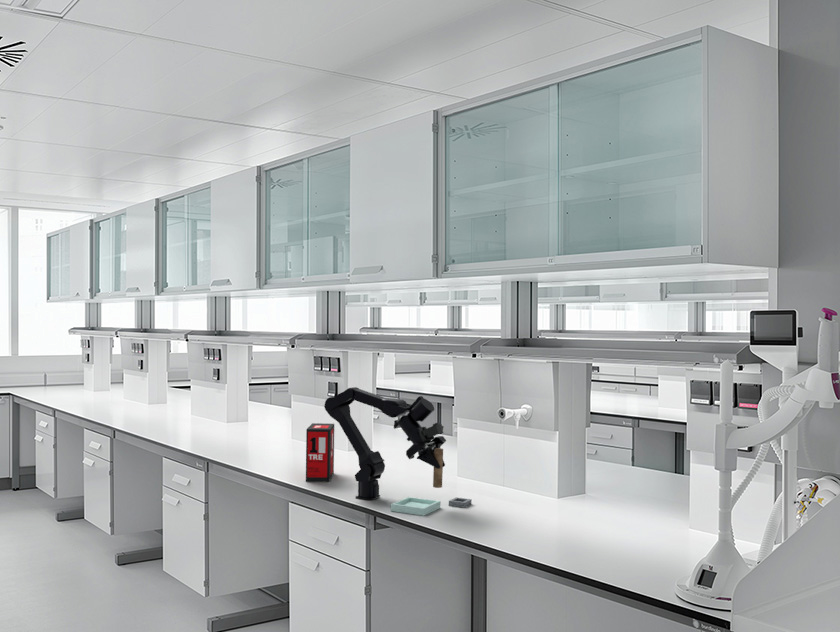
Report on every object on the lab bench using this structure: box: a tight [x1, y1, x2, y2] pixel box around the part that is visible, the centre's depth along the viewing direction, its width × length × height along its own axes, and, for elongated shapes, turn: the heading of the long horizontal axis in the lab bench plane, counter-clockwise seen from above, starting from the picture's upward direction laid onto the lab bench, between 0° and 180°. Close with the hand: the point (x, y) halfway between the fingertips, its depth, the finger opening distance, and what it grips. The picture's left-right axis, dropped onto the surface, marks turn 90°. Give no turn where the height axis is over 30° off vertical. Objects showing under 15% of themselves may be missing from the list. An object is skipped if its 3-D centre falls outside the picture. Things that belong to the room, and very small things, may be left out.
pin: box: [432, 447, 444, 489], centre depth 255 cm, size 3×3×12 cm
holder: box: [448, 497, 472, 509], centre depth 260 cm, size 6×6×2 cm
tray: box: [390, 496, 441, 517], centre depth 253 cm, size 12×12×2 cm
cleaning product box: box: [305, 422, 335, 483], centre depth 302 cm, size 16×9×20 cm, turn 0°
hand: (441, 467), depth 254 cm, fingers closed on pin, 3 cm apart
